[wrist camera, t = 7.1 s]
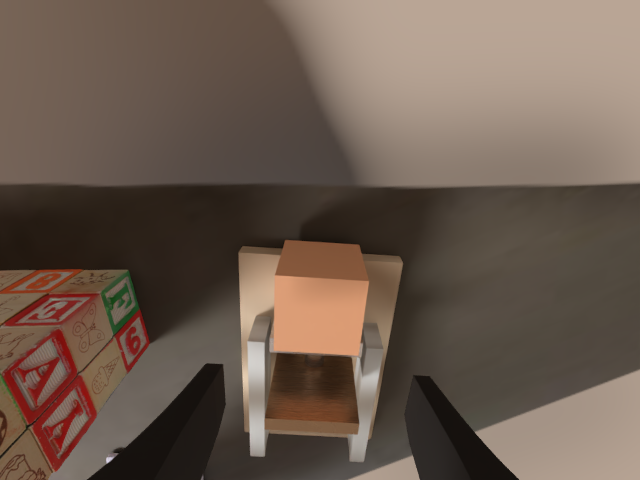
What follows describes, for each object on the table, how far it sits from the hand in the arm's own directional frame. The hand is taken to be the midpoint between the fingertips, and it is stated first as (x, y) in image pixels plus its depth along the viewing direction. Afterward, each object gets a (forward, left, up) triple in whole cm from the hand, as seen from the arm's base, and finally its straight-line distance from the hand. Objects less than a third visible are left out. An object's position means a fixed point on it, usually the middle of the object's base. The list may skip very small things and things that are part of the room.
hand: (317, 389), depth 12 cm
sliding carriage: (-4, 0, -8) cm, 9 cm away
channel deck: (-6, 0, -9) cm, 11 cm away
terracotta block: (0, 0, -8) cm, 8 cm away
